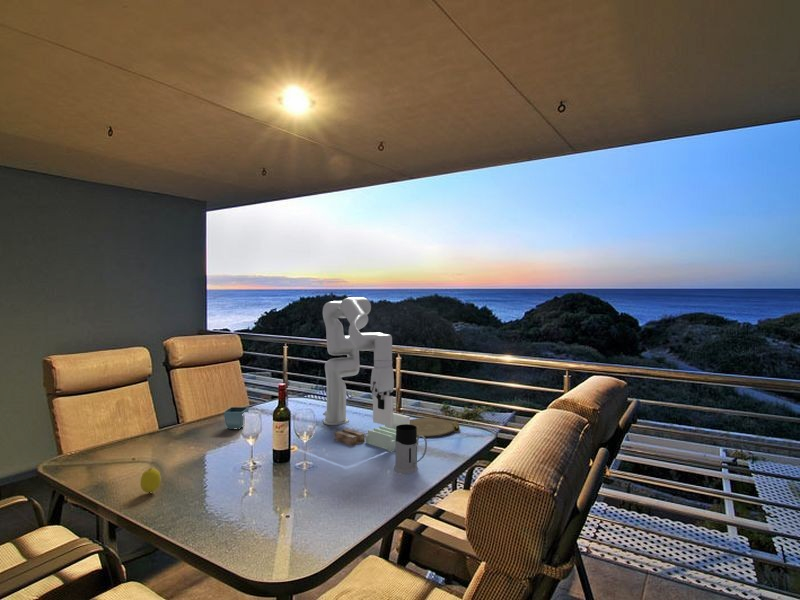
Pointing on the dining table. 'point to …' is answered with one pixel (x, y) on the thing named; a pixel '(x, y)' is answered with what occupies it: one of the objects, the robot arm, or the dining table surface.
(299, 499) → the dining table surface
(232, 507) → the dining table surface
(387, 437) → the rack
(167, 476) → the dining table surface
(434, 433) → the decorative disc
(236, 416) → the flower pot
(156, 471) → the lemon
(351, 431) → the stand
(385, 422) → the tall white panel
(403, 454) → the grey black mug
